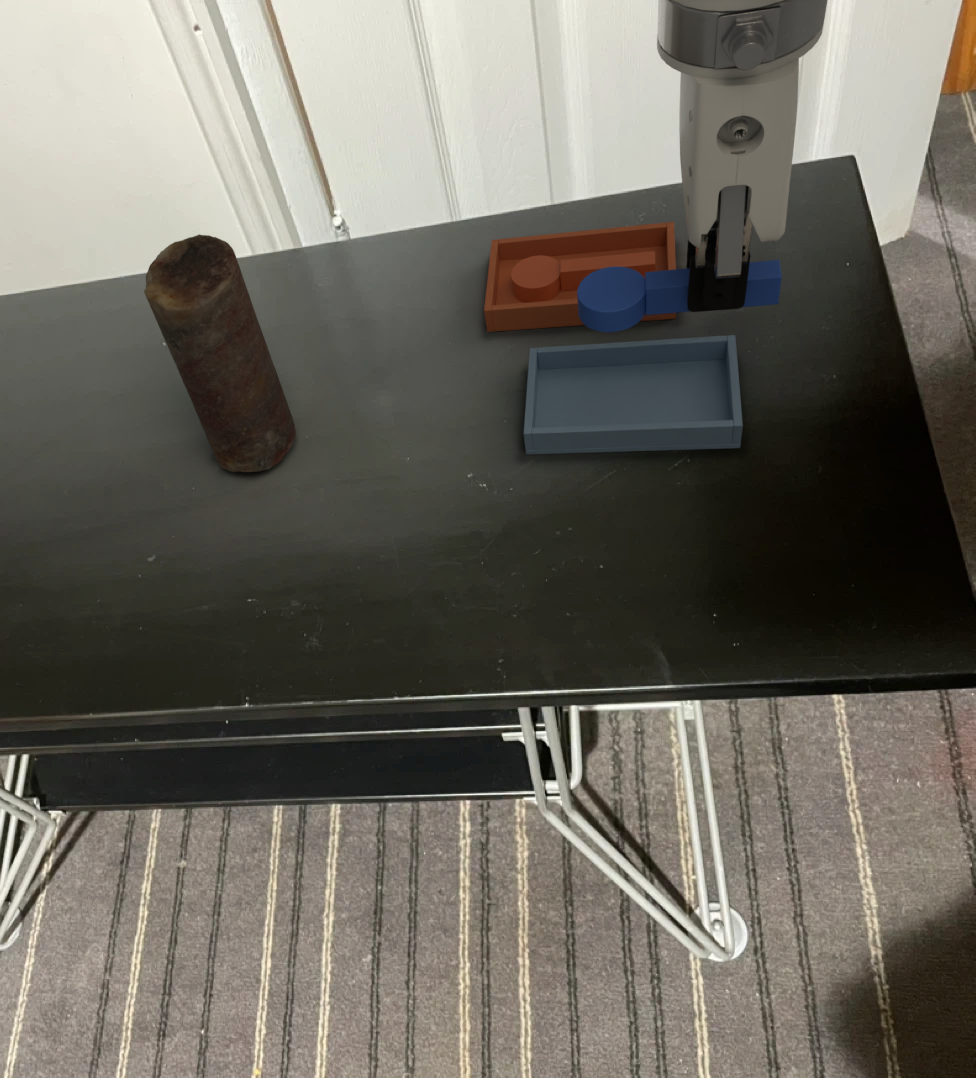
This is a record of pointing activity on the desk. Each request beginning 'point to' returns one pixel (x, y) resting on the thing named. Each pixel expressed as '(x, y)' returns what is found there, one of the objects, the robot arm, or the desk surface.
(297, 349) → the desk surface
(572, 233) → the terracotta tray
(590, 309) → the blue spoon
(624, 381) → the blue tray
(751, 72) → the robot arm
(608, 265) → the terracotta spoon
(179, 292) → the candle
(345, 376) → the desk surface
